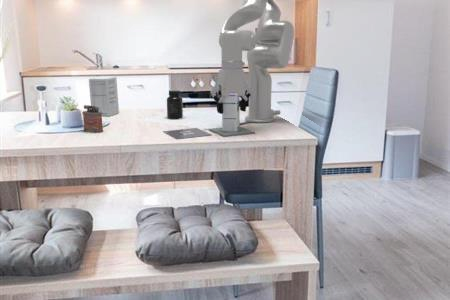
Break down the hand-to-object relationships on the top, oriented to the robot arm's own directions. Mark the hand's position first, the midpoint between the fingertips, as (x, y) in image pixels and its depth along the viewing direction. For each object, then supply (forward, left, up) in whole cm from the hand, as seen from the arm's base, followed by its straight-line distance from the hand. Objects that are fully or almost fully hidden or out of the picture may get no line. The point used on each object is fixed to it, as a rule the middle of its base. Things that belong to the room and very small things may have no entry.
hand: (231, 112), depth 170 cm
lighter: (+46, -25, -8) cm, 53 cm away
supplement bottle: (+8, -37, -8) cm, 39 cm away
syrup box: (0, 0, -7) cm, 7 cm away
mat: (0, 0, -8) cm, 8 cm away
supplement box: (+33, -60, -8) cm, 69 cm away
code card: (+16, -5, -8) cm, 18 cm away
